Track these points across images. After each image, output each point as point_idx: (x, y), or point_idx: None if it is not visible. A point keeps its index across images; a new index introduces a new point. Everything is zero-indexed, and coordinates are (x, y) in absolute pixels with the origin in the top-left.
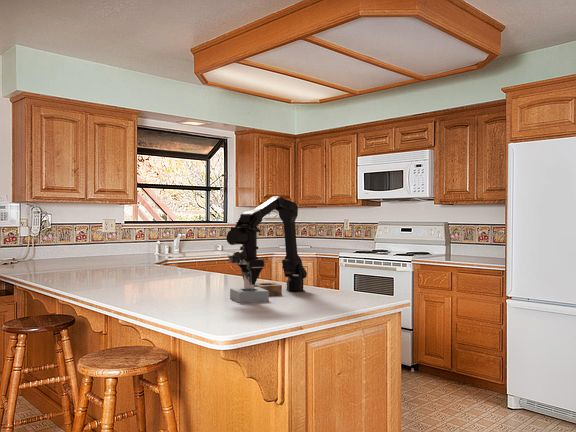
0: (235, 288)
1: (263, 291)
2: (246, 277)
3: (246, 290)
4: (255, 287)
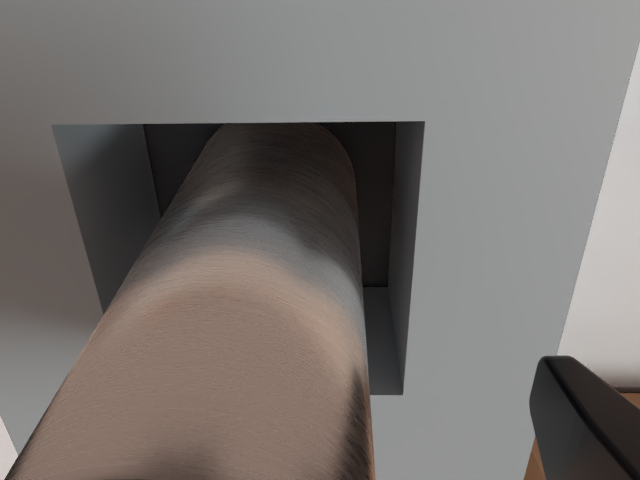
0: (552, 44)
1: (3, 413)
2: (31, 441)
3: (172, 202)
4: (473, 439)
